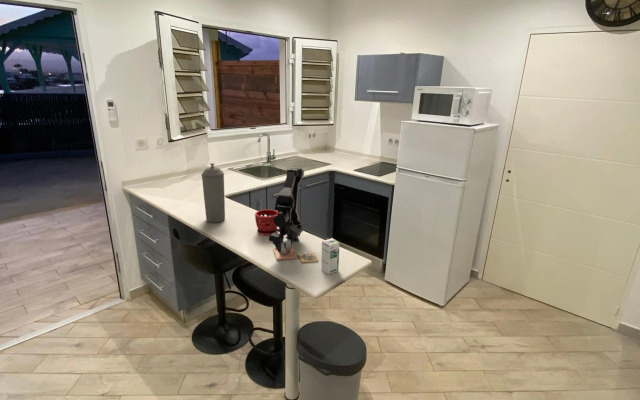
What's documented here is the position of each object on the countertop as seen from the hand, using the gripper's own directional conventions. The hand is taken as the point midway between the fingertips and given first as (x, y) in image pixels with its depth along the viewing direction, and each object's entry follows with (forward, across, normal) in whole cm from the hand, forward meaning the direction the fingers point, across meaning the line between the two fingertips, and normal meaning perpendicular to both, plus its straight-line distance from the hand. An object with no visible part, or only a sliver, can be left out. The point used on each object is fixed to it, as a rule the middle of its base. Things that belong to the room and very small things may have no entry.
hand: (284, 248), depth 172 cm
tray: (+3, 0, 0) cm, 3 cm away
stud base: (+3, +2, -12) cm, 12 cm away
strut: (+2, 0, 0) cm, 2 cm away
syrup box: (+3, -2, -26) cm, 26 cm away
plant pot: (+3, +16, +23) cm, 29 cm away
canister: (+3, +14, +61) cm, 62 cm away
